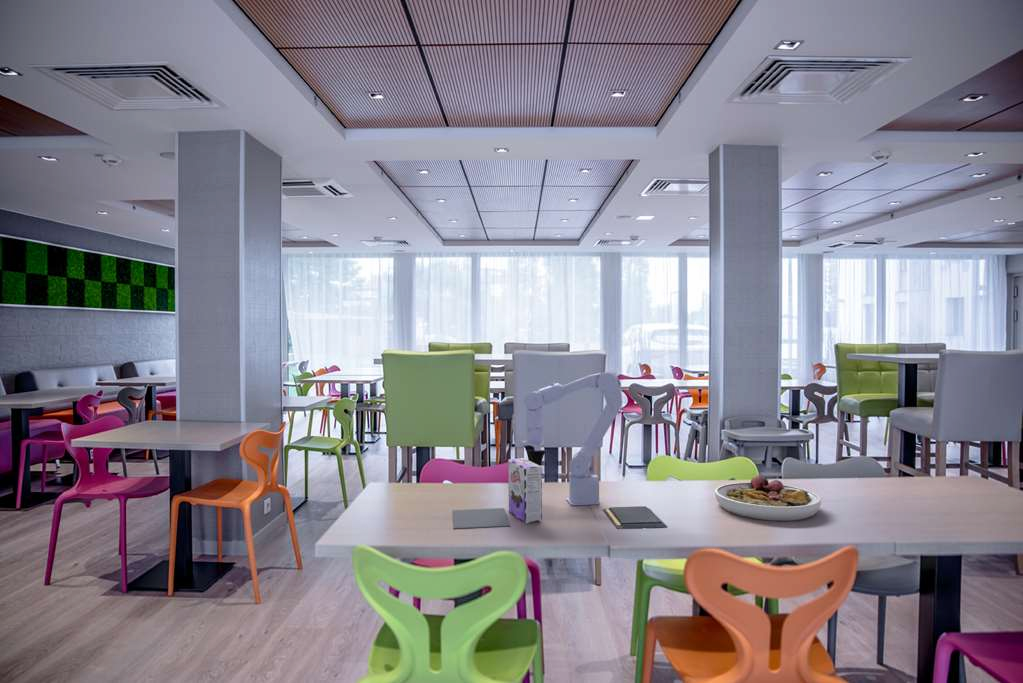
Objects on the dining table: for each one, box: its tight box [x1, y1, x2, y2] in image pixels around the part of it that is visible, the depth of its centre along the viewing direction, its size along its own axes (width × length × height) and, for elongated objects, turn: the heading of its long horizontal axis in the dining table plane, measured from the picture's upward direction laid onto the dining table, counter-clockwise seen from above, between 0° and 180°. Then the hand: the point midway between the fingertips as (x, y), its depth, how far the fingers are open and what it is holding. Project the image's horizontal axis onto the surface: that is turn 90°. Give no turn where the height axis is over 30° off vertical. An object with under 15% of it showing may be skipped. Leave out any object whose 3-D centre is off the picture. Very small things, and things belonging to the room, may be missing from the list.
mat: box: [452, 507, 511, 530], centre depth 179 cm, size 16×18×1 cm
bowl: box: [714, 475, 822, 522], centre depth 186 cm, size 30×30×8 cm
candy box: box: [507, 457, 543, 524], centre depth 181 cm, size 14×6×16 cm, turn 21°
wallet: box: [602, 505, 668, 530], centre depth 178 cm, size 20×2×15 cm
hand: (534, 468), depth 199 cm, fingers open, 7 cm apart
